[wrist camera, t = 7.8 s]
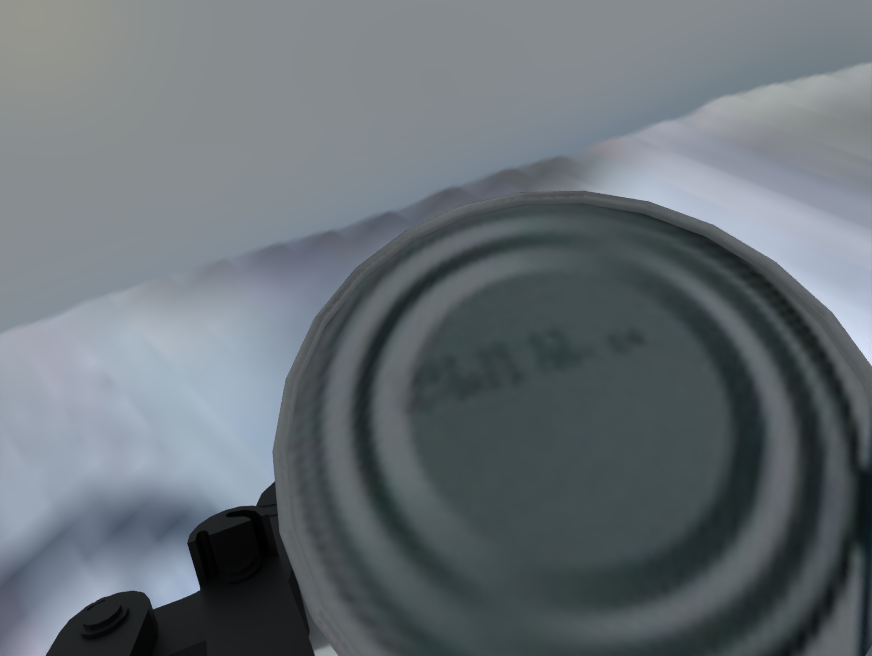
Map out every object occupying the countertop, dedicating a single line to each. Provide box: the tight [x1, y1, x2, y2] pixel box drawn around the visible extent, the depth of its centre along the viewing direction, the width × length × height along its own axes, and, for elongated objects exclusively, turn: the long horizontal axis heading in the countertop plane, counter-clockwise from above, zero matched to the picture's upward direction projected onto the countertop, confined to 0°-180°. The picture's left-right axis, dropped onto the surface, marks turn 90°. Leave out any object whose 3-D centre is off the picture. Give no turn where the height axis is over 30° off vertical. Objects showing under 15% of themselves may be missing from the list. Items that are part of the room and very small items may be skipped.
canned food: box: [273, 191, 872, 656], centre depth 12 cm, size 8×8×12 cm
